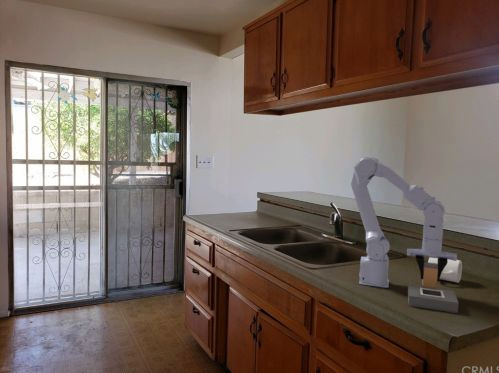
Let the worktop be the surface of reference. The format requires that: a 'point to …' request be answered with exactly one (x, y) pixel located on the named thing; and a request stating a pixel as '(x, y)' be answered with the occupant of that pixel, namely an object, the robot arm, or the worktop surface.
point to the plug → (430, 274)
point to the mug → (450, 270)
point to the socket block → (432, 298)
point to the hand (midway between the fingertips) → (429, 279)
